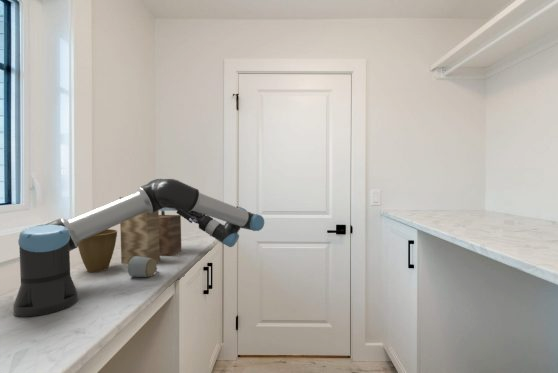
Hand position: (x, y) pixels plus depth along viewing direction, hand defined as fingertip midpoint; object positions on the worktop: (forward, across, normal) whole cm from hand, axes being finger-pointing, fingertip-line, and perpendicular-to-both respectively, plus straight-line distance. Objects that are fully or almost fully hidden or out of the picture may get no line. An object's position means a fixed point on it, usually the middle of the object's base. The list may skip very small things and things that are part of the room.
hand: (172, 202), depth 149 cm
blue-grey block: (0, 0, -5) cm, 5 cm away
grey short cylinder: (-20, -33, -19) cm, 43 cm away
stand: (-7, -16, -26) cm, 31 cm away
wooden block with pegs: (-7, 0, -26) cm, 27 cm away
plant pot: (+1, -30, -31) cm, 43 cm away
